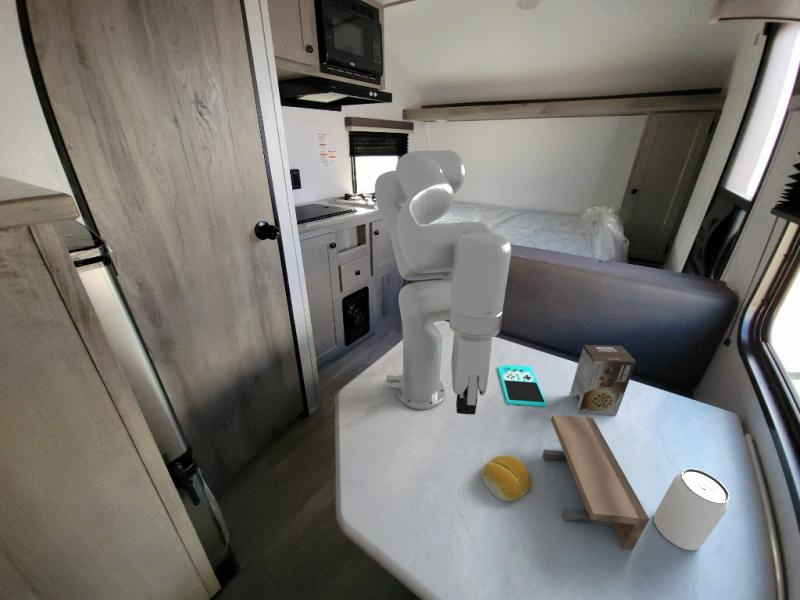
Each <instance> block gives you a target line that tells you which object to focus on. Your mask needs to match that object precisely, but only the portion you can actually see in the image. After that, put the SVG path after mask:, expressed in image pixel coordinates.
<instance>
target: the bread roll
mask: <svg viewBox="0 0 800 600" xmlns="http://www.w3.org/2000/svg"><path fill="white" fill-rule="evenodd" d="M481 476H482V477H481V478H482V480H483V484H484V486H485V487H487V490H488V491H489V492H490V493H491V494H492V495H494V497H496V499H499V500H500V501H504V502H505V501H506V502H514V501H517V500H520V499H521V498H522V496H524V495H526V493H528V492H530V490H531V489H532V485H533V484H532V483H533V482H532V481H533V480H532V476H531V473H530V470H529V469H528V467H527V466H526V464H524V462H522V461H521V460H520V459H518V458H517V457H514V456H511V455H498V456H496V457H494V458H492V459H491V460H490V461H489V462H487V463H486V464H485V466H484V468H483V470H482V473H481Z"/></svg>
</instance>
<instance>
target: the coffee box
mask: <svg viewBox="0 0 800 600" xmlns="http://www.w3.org/2000/svg"><path fill="white" fill-rule="evenodd" d="M636 364H637V361H636V360H635V359H634V358H633V357H632V355H631V354H630V352H628V351H627V350H626V349H625V347H623V346H622V345H602V344H601V345H598V344H596V345H595V344H583V346H582V350H581V353H580V356H579V360H578V364H577V367H576V371H575V373H574V374H575V375H574V378H573V380H572V385H571V388H570V391H569V399H570V400H571V402H572V404H573V407H574V408H575V410H576V412H577V413H579V414H589V415H590V414H591V415H605V416H608V415H609V416H617V415H618V412H619V409H620V406H621V404H622V401H623V398H624V396H625V392H626V390H627V387H628V385H629V382H630V381H631V377H632V374H633V371H634V369H635V366H636Z"/></svg>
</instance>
